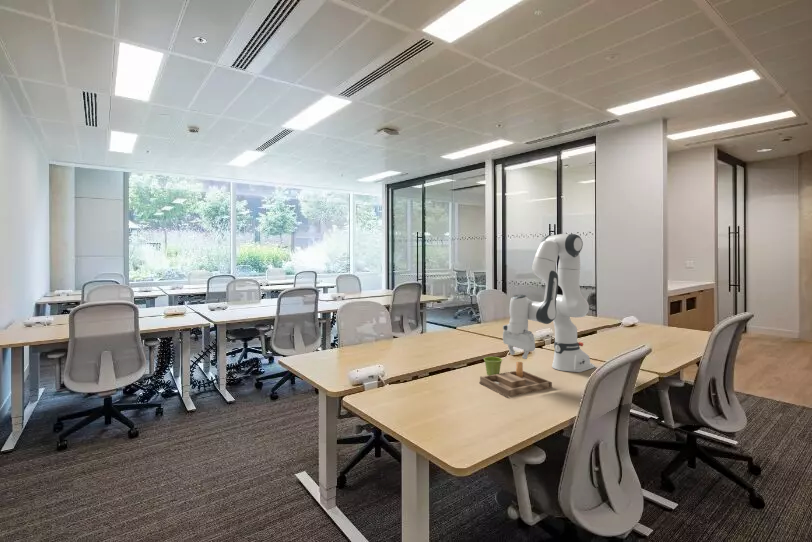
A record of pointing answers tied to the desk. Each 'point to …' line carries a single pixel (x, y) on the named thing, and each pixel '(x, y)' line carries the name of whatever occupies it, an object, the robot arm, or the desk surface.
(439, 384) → the desk surface
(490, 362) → the plant pot
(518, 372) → the dowel
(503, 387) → the channel
